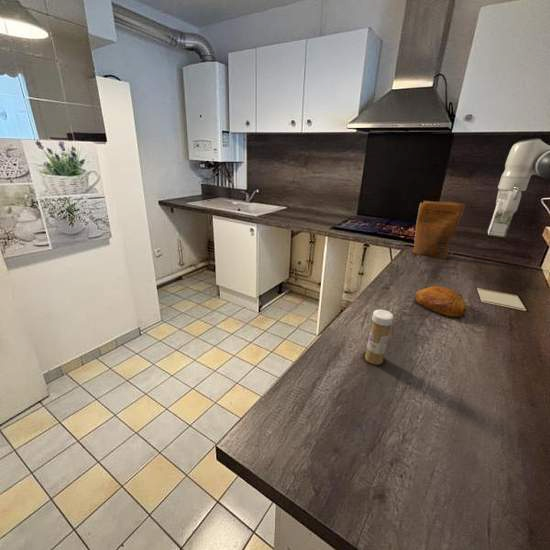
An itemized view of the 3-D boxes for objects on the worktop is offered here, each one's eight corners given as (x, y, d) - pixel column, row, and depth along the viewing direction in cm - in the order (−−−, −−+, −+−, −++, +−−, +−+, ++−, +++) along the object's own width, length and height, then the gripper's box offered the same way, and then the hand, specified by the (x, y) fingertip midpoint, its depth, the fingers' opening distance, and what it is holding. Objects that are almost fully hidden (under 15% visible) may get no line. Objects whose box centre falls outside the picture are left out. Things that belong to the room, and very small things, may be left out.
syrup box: (503, 234, 121) (515, 199, 115) (505, 237, 116) (518, 201, 111) (487, 232, 124) (498, 197, 118) (488, 235, 119) (499, 199, 113)
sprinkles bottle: (360, 356, 75) (369, 310, 69) (374, 352, 76) (384, 307, 71) (373, 367, 71) (382, 320, 65) (387, 363, 73) (398, 316, 67)
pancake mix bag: (449, 261, 144) (465, 204, 133) (408, 254, 153) (420, 199, 141) (449, 257, 149) (465, 202, 138) (410, 250, 158) (422, 198, 147)
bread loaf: (448, 328, 92) (459, 308, 88) (406, 301, 103) (414, 282, 99) (471, 315, 99) (482, 296, 95) (430, 291, 110) (437, 273, 106)
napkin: (516, 296, 110) (517, 295, 110) (526, 311, 99) (526, 310, 99) (476, 288, 115) (477, 287, 115) (481, 302, 105) (481, 301, 104)
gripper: (530, 188, 102) (516, 226, 108) (516, 183, 119) (505, 217, 125) (508, 186, 105) (496, 224, 110) (498, 182, 122) (488, 215, 127)
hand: (501, 220), depth 118 cm, fingers closed on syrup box, 6 cm apart
